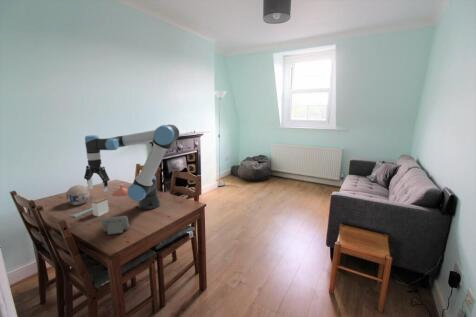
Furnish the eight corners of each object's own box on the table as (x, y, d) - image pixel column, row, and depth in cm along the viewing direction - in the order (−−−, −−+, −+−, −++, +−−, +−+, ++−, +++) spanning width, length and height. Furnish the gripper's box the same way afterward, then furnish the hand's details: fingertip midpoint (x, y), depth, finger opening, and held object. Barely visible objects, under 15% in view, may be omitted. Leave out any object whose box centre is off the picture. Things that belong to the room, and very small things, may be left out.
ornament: (71, 202, 180) (69, 183, 177) (93, 199, 185) (91, 181, 182) (64, 209, 166) (61, 189, 163) (88, 207, 171) (85, 187, 168)
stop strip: (93, 210, 165) (93, 208, 165) (75, 217, 153) (75, 215, 153) (91, 209, 165) (91, 208, 165) (73, 217, 153) (73, 215, 153)
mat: (91, 210, 165) (90, 209, 165) (74, 217, 154) (74, 216, 154) (80, 208, 168) (80, 207, 168) (63, 214, 157) (63, 214, 157)
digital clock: (130, 227, 140) (129, 213, 139) (125, 234, 133) (124, 219, 131) (106, 228, 139) (105, 214, 137) (100, 235, 132) (98, 220, 130)
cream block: (108, 212, 162) (107, 198, 160) (98, 216, 155) (97, 202, 153) (103, 211, 164) (101, 197, 162) (93, 215, 156) (91, 201, 155)
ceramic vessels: (112, 201, 182) (110, 178, 178) (105, 194, 197) (102, 173, 193) (155, 191, 205) (154, 170, 202) (146, 186, 220) (144, 166, 217)
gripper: (113, 159, 152) (116, 190, 156) (86, 157, 160) (89, 186, 164) (103, 161, 145) (107, 193, 149) (75, 159, 153) (79, 189, 157)
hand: (98, 190), depth 157 cm, fingers open, 13 cm apart
